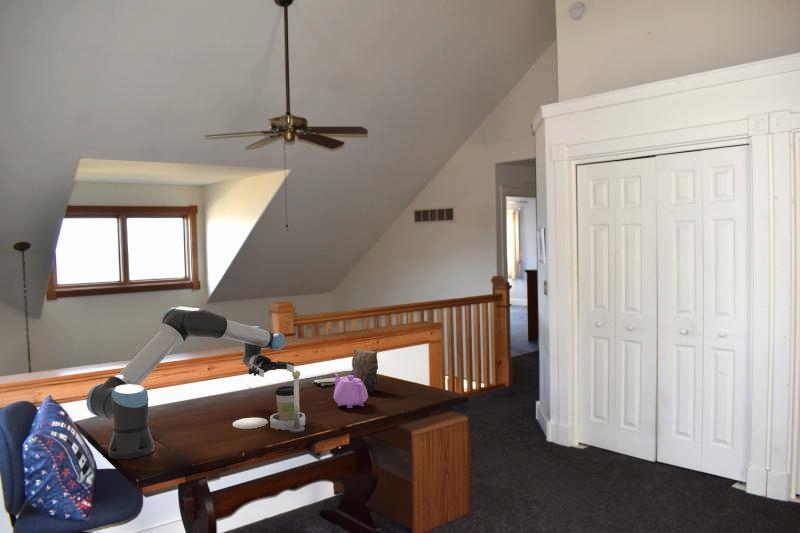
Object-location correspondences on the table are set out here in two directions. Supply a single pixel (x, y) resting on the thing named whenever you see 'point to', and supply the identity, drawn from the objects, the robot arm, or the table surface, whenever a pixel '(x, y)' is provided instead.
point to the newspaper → (328, 381)
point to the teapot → (350, 391)
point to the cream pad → (250, 423)
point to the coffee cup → (285, 402)
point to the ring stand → (299, 417)
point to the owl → (365, 367)
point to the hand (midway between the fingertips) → (278, 371)
